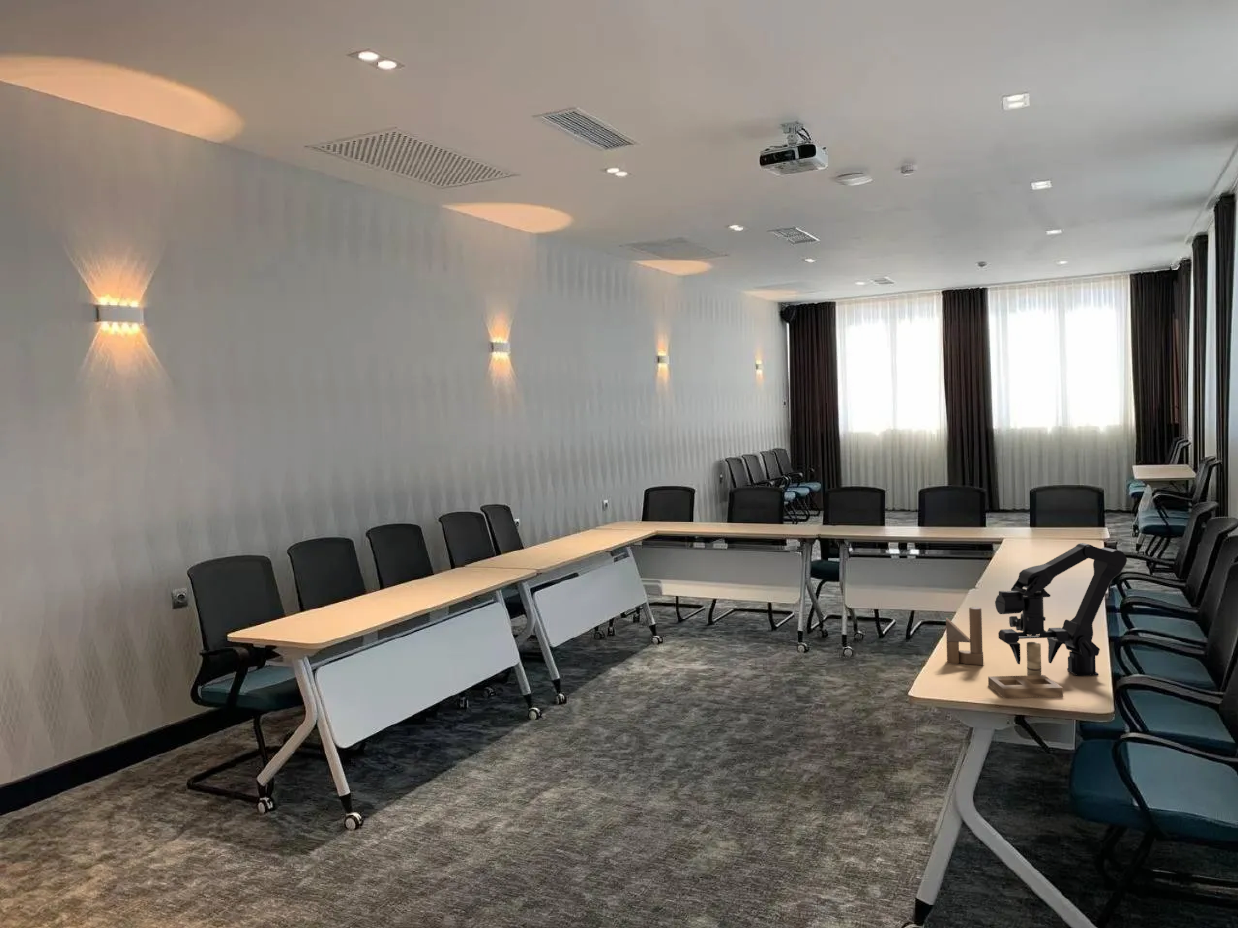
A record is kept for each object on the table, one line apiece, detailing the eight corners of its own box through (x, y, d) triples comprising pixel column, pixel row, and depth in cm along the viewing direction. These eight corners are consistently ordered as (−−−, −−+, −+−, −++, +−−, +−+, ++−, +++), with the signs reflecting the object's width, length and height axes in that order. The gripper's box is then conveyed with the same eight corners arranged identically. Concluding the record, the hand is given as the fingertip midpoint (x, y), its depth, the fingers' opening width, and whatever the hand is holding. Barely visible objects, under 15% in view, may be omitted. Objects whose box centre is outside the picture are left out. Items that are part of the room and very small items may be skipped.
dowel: (1038, 674, 262) (1037, 641, 262) (1043, 678, 258) (1043, 644, 258) (1025, 674, 263) (1024, 641, 262) (1030, 678, 259) (1029, 645, 258)
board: (1044, 683, 253) (1044, 674, 253) (1062, 696, 242) (1062, 687, 241) (988, 684, 254) (988, 676, 254) (1004, 697, 242) (1003, 689, 242)
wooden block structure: (947, 660, 281) (945, 605, 280) (983, 662, 277) (981, 606, 276) (947, 663, 278) (945, 607, 277) (983, 665, 274) (981, 609, 273)
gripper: (1053, 605, 267) (1054, 655, 268) (991, 607, 268) (992, 657, 269) (1069, 613, 256) (1071, 665, 257) (1005, 615, 257) (1006, 667, 258)
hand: (1034, 663), depth 260 cm, fingers open, 9 cm apart
